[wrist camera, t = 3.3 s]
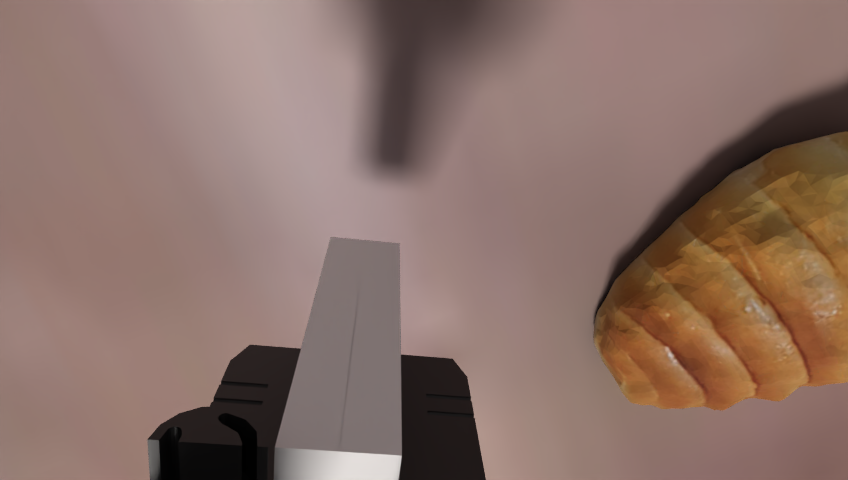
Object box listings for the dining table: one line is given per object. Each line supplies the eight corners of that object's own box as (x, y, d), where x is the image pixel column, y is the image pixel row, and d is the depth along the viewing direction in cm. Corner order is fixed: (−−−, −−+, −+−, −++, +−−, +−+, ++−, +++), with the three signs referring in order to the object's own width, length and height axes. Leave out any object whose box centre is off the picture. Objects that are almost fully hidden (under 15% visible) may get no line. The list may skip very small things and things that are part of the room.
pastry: (645, 418, 21) (697, 508, 17) (543, 274, 18) (577, 343, 15) (916, 268, 19) (1036, 335, 15) (839, 87, 16) (959, 115, 13)
